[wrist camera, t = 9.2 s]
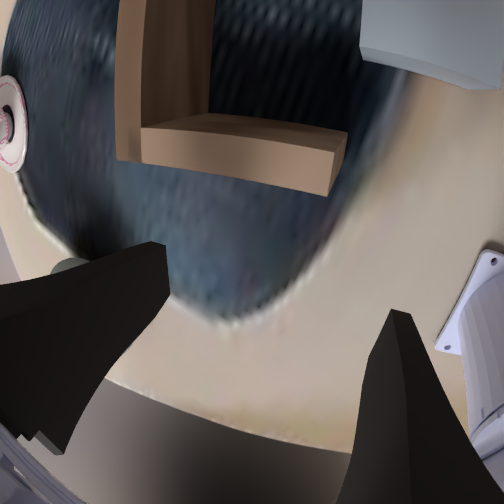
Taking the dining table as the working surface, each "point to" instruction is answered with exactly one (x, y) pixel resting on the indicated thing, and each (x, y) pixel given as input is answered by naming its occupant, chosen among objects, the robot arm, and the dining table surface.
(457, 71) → the pull block
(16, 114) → the teacup
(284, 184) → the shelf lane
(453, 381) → the dining table surface
